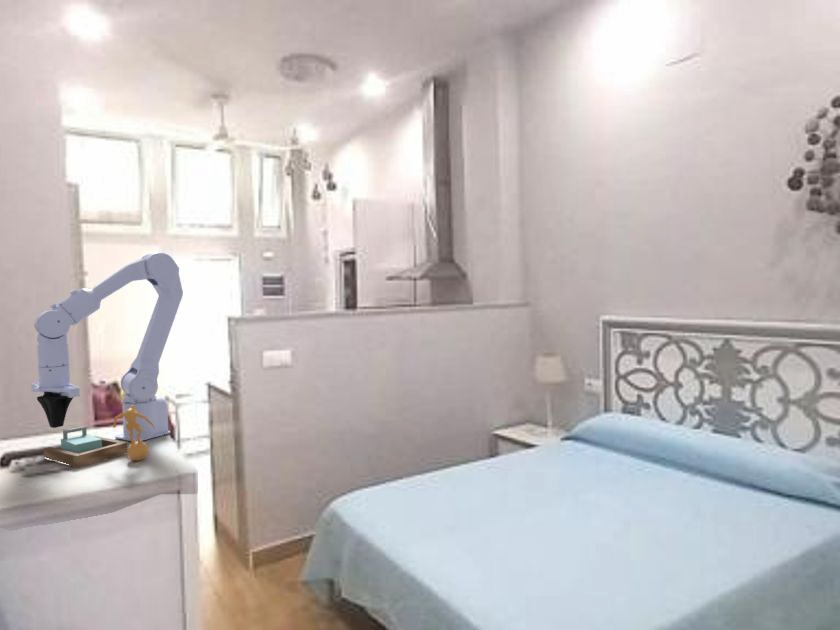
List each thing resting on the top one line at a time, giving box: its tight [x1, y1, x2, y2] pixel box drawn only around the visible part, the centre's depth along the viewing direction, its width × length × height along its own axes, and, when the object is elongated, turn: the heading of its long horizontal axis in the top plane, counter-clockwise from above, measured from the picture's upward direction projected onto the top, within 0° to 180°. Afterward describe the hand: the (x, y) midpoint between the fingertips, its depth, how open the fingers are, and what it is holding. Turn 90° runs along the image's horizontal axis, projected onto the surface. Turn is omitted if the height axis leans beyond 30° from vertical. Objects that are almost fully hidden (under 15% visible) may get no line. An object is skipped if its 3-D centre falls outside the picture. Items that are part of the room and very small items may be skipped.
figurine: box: [112, 405, 154, 462], centre depth 118 cm, size 8×6×12 cm
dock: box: [43, 435, 128, 469], centre depth 122 cm, size 11×11×2 cm
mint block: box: [60, 425, 102, 454], centre depth 122 cm, size 5×7×5 cm
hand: (56, 426), depth 127 cm, fingers closed
